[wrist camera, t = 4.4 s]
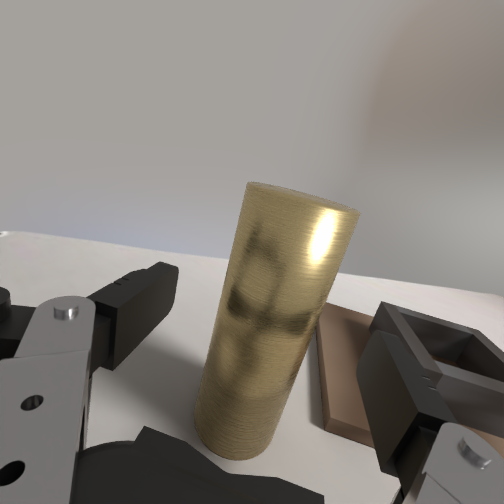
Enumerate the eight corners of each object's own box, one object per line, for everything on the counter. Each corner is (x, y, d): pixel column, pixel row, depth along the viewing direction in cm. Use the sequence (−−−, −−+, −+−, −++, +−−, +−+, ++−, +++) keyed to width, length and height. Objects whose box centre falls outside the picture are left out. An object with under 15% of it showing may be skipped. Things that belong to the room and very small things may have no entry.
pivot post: (179, 440, 12) (234, 184, 8) (211, 371, 16) (257, 180, 12) (269, 475, 12) (374, 222, 8) (278, 395, 16) (349, 205, 12)
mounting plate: (324, 430, 14) (350, 375, 13) (313, 307, 27) (326, 274, 26) (688, 560, 12) (760, 511, 11) (489, 362, 26) (512, 329, 24)
